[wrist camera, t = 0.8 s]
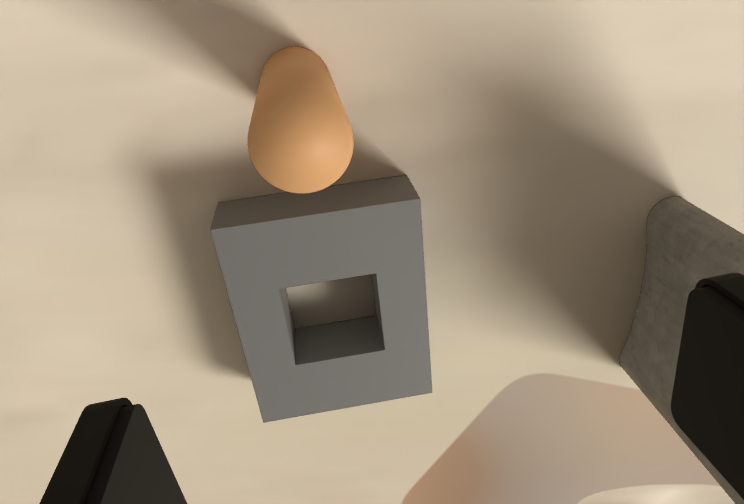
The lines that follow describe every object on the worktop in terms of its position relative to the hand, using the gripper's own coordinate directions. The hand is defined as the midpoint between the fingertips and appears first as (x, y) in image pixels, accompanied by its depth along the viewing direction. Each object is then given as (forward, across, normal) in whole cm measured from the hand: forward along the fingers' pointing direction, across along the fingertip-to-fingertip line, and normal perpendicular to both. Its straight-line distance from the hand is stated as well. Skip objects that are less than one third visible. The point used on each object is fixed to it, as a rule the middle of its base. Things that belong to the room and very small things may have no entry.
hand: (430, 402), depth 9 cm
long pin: (+25, +2, -1) cm, 25 cm away
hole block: (+26, +2, +13) cm, 29 cm away
